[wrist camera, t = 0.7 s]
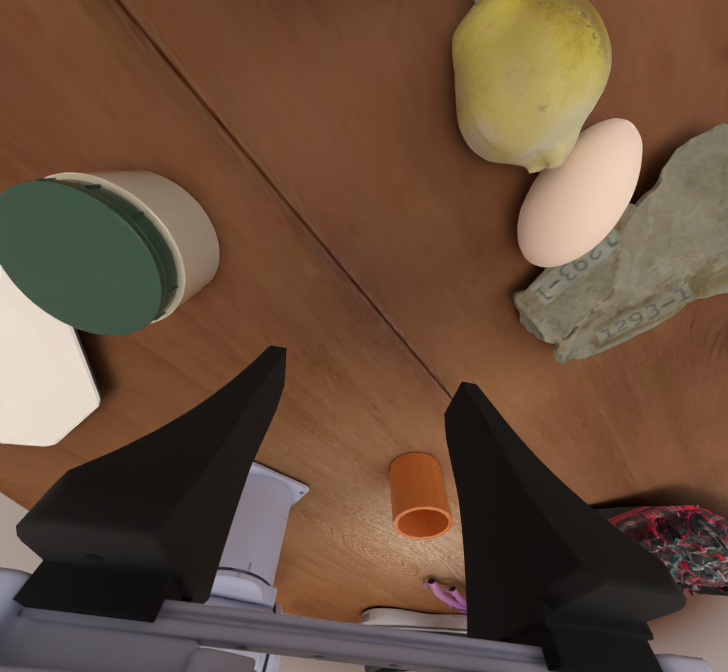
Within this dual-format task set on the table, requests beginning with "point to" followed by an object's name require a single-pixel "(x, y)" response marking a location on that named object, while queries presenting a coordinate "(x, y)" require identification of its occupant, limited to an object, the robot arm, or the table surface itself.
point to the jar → (167, 224)
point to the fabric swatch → (680, 542)
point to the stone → (641, 259)
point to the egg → (581, 195)
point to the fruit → (528, 78)
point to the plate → (40, 373)
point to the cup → (419, 497)
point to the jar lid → (85, 255)
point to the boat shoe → (414, 625)
